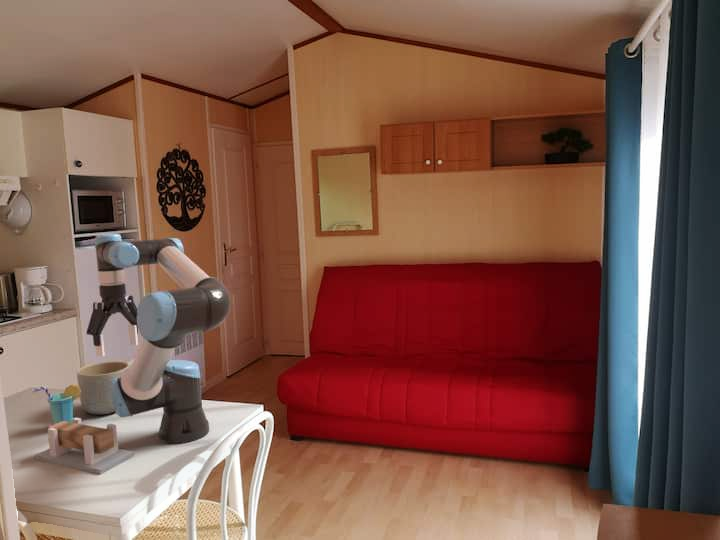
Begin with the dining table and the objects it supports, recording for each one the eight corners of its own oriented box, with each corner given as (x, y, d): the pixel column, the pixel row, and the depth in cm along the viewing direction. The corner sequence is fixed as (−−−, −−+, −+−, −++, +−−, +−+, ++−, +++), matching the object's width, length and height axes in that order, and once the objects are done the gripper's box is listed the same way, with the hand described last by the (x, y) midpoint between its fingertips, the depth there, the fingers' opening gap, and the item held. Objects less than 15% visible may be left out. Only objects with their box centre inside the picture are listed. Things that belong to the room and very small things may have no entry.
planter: (79, 407, 210) (75, 366, 208) (129, 398, 218) (125, 358, 216) (81, 422, 196) (77, 378, 194) (135, 412, 203) (131, 370, 201)
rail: (114, 446, 167) (112, 430, 166) (100, 453, 162) (98, 436, 161) (64, 436, 175) (63, 420, 174) (50, 443, 170) (48, 427, 170)
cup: (36, 437, 184) (32, 391, 182) (36, 429, 191) (31, 385, 189) (85, 427, 191) (81, 383, 189) (83, 420, 198) (79, 377, 196)
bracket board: (134, 455, 169) (131, 425, 168) (100, 474, 158) (97, 441, 157) (70, 442, 179) (67, 414, 178) (35, 459, 169) (31, 428, 167)
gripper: (133, 277, 194) (138, 339, 197) (69, 289, 171) (76, 359, 174) (150, 278, 191) (155, 341, 194) (88, 290, 168) (94, 361, 171)
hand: (117, 350), depth 184 cm, fingers open, 13 cm apart
